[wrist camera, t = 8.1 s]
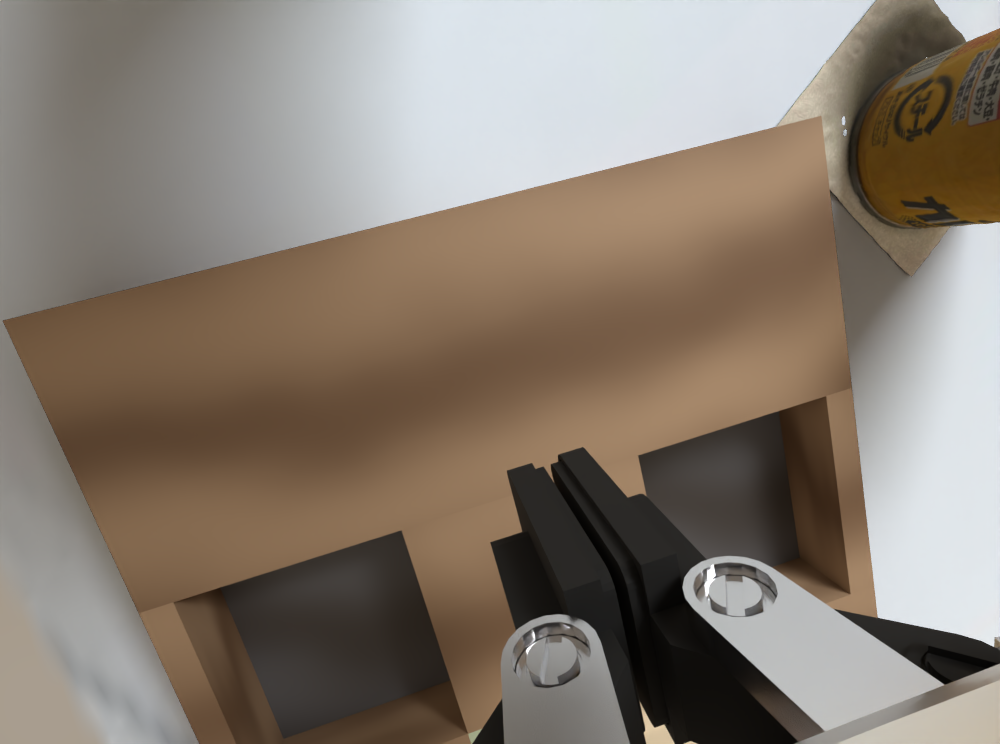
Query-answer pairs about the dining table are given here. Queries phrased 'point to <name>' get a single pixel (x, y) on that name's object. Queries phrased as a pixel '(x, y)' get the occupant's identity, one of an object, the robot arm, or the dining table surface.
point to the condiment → (910, 126)
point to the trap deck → (457, 427)
